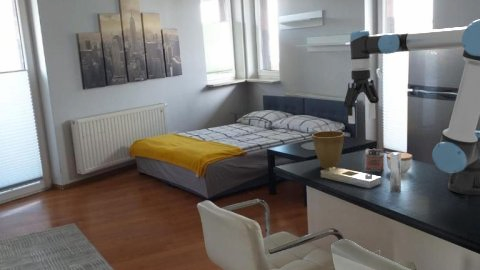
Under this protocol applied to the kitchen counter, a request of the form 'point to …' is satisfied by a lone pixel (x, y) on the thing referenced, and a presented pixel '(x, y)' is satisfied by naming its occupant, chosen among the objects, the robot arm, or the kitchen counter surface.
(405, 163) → the lidded jar
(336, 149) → the plant pot
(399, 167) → the pin
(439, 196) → the kitchen counter surface
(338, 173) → the frame
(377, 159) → the lighter
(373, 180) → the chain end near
